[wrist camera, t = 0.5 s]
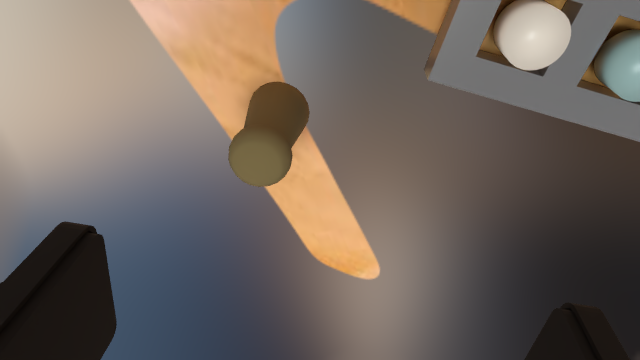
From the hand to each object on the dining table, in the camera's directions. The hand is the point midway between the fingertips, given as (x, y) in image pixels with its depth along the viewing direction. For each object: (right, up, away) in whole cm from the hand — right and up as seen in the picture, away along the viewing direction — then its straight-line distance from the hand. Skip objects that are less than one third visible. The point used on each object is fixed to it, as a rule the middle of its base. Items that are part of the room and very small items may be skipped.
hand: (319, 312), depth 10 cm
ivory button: (+17, +15, +28) cm, 36 cm away
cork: (-4, +10, +36) cm, 37 cm away
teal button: (+25, +13, +28) cm, 40 cm away
